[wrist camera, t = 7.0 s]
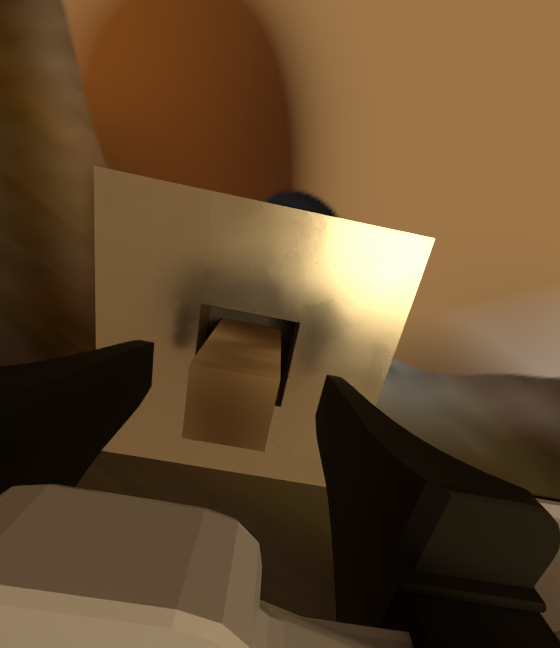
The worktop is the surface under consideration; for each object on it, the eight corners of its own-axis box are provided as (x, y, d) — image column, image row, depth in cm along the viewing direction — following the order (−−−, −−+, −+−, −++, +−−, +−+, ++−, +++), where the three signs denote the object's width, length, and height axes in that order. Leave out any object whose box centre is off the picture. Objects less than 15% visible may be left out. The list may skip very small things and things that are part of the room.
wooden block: (281, 328, 15) (280, 379, 10) (270, 380, 16) (264, 451, 11) (222, 317, 15) (189, 363, 10) (215, 370, 16) (181, 437, 10)
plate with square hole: (413, 237, 13) (435, 238, 11) (338, 462, 18) (345, 490, 16) (122, 176, 13) (93, 165, 11) (118, 425, 17) (97, 449, 15)
